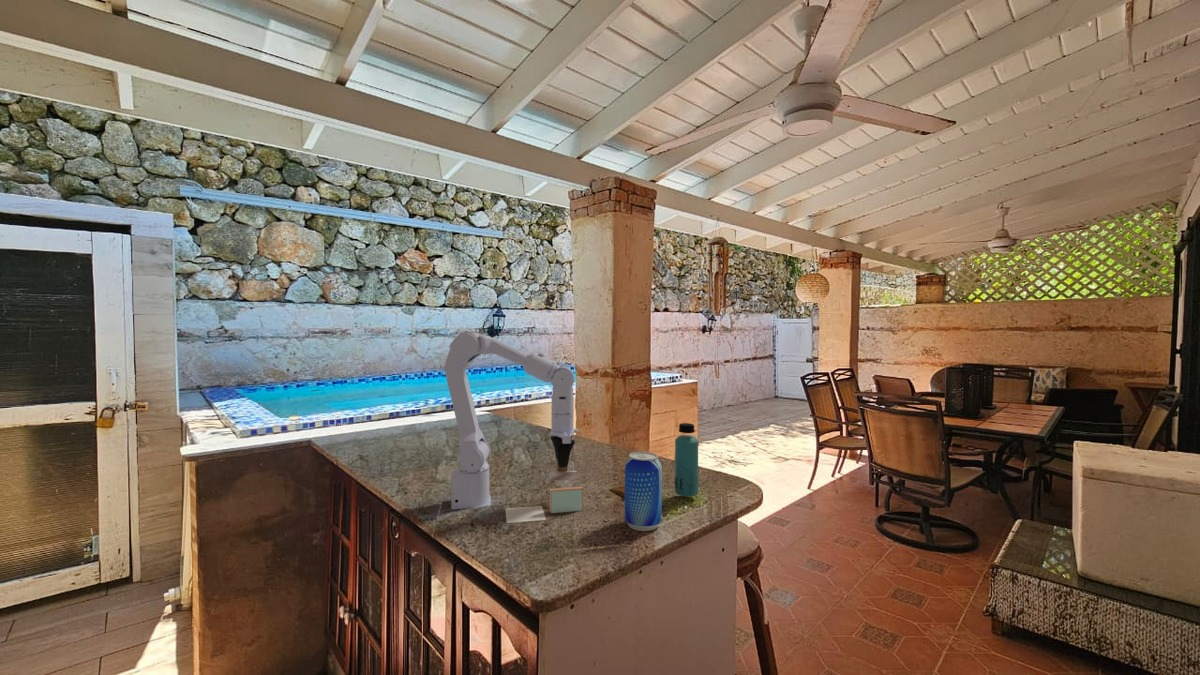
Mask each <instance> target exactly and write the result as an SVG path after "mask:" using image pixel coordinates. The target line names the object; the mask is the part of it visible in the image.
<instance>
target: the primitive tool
mask: <svg viewBox="0 0 1200 675" xmlns="http://www.w3.org/2000/svg"><path fill="white" fill-rule="evenodd" d="M609 491H610V492H612V493H614V494H616V495H618V494H619V496H620V497H622V496H623V498H625V485H620V486H618V487H617V486H616V487H613V488H609Z"/></svg>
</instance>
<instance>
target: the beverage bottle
mask: <svg viewBox="0 0 1200 675" xmlns="http://www.w3.org/2000/svg"><path fill="white" fill-rule="evenodd" d="M678 427H679V428H678V432H679V433H682V434H681V435H679V436H677V437H676V438H675V440H674V446H675V448H674V475H673V476H674V492H675V493H676V494H677V495H679V496H681V497H695V496H696V497H697V496H698V494H699V490H700V489H699V472H700V471H699V440H698V439H697V437H695V436H694V435H691V434H694V433H695V424H693V423H688V422H685V423H684V422H683V423H680V424H679V425H678Z"/></svg>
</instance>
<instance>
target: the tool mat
mask: <svg viewBox="0 0 1200 675" xmlns="http://www.w3.org/2000/svg"><path fill="white" fill-rule="evenodd" d="M546 520H547V518H546V514H545V511H544V509H543V506H542V505H533V506H523V507H521V506H520V507H507V508H505V521H506V524H513V523H524V522H536V521H537V522H538V521H546Z"/></svg>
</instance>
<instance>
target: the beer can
mask: <svg viewBox="0 0 1200 675" xmlns="http://www.w3.org/2000/svg"><path fill="white" fill-rule="evenodd" d="M658 458H659V457H658V455H657V454H656V453H653V452H650V451H649V452H647V451H635V452H631V453H630V454H628V459H627V460H626V462H625V465H624V486H625V497H624V521H625V522H626V523H627V527H628V528H630V529H632V530H634V531H638V532H639V531H640V532H651V531H654V530H656V529H658V527H659V525H660V524H661V522H662V489H663V488H662V487H663V486H662V483H663V482H662V480H663V479H662V476H663V474H662V472H663V467H662V464H661V462H660V460H659V459H658Z"/></svg>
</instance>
